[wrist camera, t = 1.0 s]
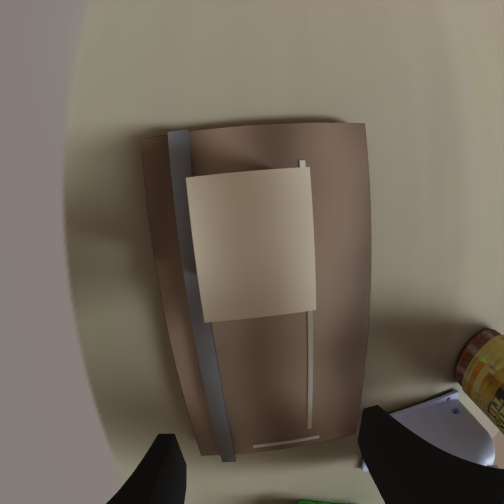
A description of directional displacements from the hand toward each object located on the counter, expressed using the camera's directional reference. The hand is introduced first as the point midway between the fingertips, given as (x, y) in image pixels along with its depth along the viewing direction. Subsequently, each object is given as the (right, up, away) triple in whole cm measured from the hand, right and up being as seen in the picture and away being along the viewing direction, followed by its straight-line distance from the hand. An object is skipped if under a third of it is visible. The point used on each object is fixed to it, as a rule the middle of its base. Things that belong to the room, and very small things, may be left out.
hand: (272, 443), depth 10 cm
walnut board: (0, +3, +9) cm, 10 cm away
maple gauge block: (-1, +9, +6) cm, 11 cm away
